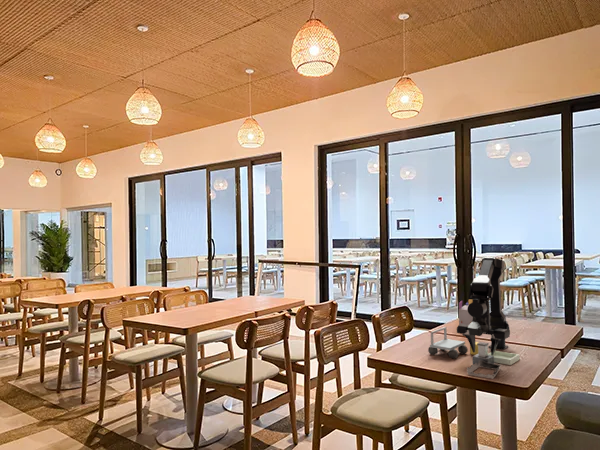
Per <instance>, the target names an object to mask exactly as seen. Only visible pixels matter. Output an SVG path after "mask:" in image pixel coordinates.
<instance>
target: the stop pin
mask: <svg viewBox="0 0 600 450" xmlns="http://www.w3.org/2000/svg"><path fill="white" fill-rule="evenodd" d="M477 345H478V357H483V358H487V357H488V353H489V352H488V348H489V346H490V345H489V342H483V341H482V342H481V341H479V343H477Z"/></svg>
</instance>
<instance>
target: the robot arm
mask: <svg viewBox="0 0 600 450" xmlns="http://www.w3.org/2000/svg"><path fill="white" fill-rule="evenodd" d="M504 270H505V261H504V260H503V259H501V258H497V257H494V256H485V257H482V258H481V267H480V270H479V273H478V276H477V277H475V278H473V280H472V282H471V283H470V285H469V291H468V300H469V299H473V302H472V303H471V304H468V305H469V306H468V309H467V310H468V313H469V314H470V315H471V316H472V317H473V320H472V322H471V323H470V324H469V325H467V324H462V325H459V324H458V325H459V326H457V327H456V333H457V334H462V336H463V337H465V338H466V339H467V341H468V343H469V347H470V346H471V348H472V351H473V352H475V342H476V337H482V336H483V335H488V336H490V339H489V340H490V345H488V348H490V352H491V355H493V354H494V352H495V351H496V349H498V350H501V351H502V350H505V349H507V348H508V347H509V345H506V339H508V338H510V335H511V330H510V325H509V322H508V321H507V317H506V315H505V313H504V311H502V297H501V296H502V295H501V279H500V278H501V277H502V275H503V274H504Z"/></svg>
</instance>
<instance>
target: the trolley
mask: <svg viewBox="0 0 600 450" xmlns="http://www.w3.org/2000/svg"><path fill="white" fill-rule="evenodd" d="M442 331H443V339H441V340H438V341H436V342H434V334H436V333H438V332H442ZM447 333H448V332H447V326H443V327H440V328H438V329H435V330H432V331H430V344H429V347H428V353H429V354H430V355H432V356H434V355H437V354H438V352H439V350H440V351H448V352H447V353H448V356H449V358H450V359H457V358H458V357H459V354H461V355H465V354H467V353H468V350H469V349H468V347H467V346H466V341H464V340H463V341H462V340H457V339H456V340H454V339H449V338H448V336H447V335H448V334H447ZM438 349H439V350H438Z"/></svg>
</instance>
